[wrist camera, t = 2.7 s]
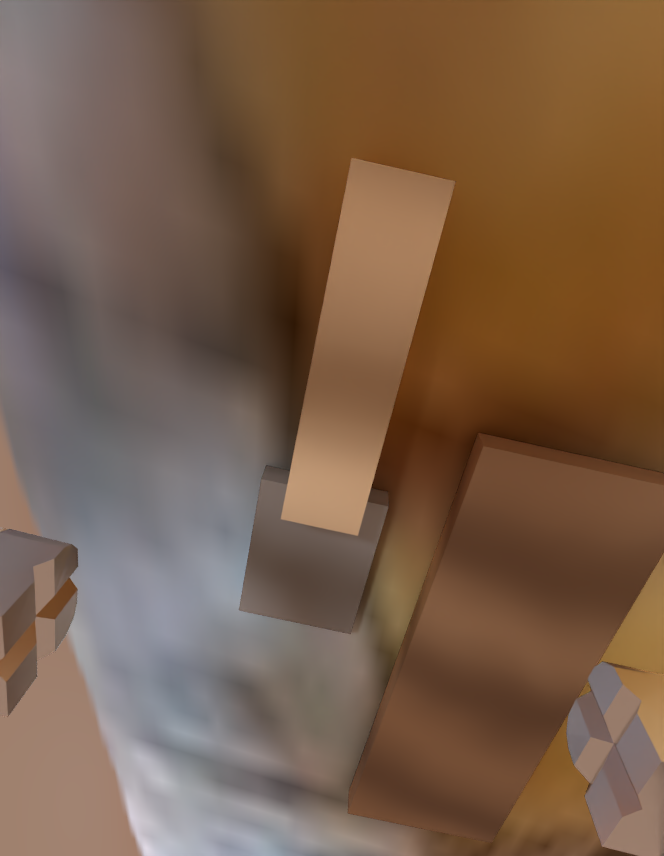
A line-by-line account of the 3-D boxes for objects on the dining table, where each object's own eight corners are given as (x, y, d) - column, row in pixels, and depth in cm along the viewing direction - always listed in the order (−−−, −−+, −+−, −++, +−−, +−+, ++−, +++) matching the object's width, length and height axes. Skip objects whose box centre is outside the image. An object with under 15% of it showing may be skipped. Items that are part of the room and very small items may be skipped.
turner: (320, 153, 15) (307, 147, 12) (476, 189, 15) (498, 191, 12) (244, 592, 22) (225, 651, 19) (351, 614, 22) (348, 677, 19)
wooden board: (477, 432, 18) (483, 446, 17) (682, 477, 18) (698, 493, 17) (348, 791, 26) (347, 813, 25) (487, 820, 26) (491, 843, 25)
